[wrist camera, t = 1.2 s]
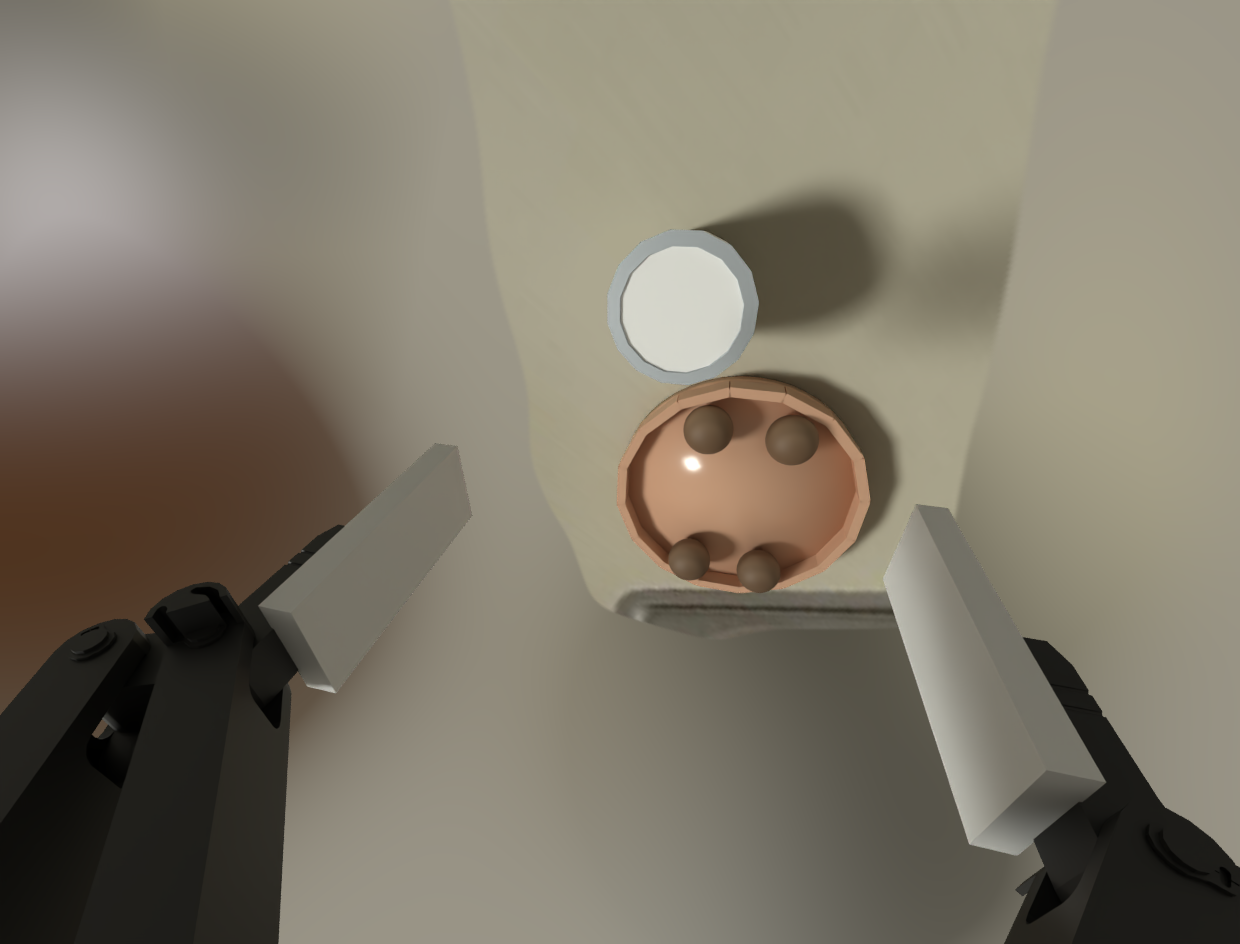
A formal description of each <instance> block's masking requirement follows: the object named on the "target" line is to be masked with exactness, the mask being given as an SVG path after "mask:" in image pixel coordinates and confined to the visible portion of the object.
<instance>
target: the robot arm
mask: <svg viewBox="0 0 1240 944" xmlns="http://www.w3.org/2000/svg"><path fill="white" fill-rule="evenodd" d="M471 516H472V512H471V508H470V503H469V498H468V494H467V489H466V484H465V479H464V474H463V470H462V465H461V461H460V455H459V451H458V446H452V445H444V444H436V443H435V444H434V445H433V446H432V447H431V448H430V449H429V450H427V451H426V452H425V453H424V454H423V455H422V456H421V457H420V458H419V459H418V460H417V461H416V462H415V463H413V464H412V465H411V466H410V467H409V468H408V469H407V470H406V471H405V472H404V473H402V474H401V475H400V476H399V477H398V478H397V479H396V480H395V481H394V482H393V483H391V484H390V485H389V486H388V487H387V488H386V489H385V490H384V491H383V492H382V493H381V494H379V495H378V496H377V497H376V498H375V499H374V500H373V501H372V502H371V503H370V504H369V505H367V506H366V507H365V508H364V509H363V510H362V511H361V512H360V513H359V514H358V515H357V516H356V517H354V518H353V519H352V520H351V521H350V522H349V523H348V524H347V525H346V526H342V525H337V526H335V527H333V528H331V529H330V530H328V531H326V532H324V533H322V534H321V535H318V536H317V537H316V538H315V539H314V540H312V541H311V542H310V543H309V544H308V545H307V546H306V547H305V548H303V549H302V552H301V553H298V554H297V555H295V556H294V557H293V558H292V559H291V560H290V561H289V562H288V565H284V566H283V567H282V568H281V569H280V570H278V571H277V572H276V573H275V574H274V575H273V576H272V577H270V578H269V579H268V580H267V581H266V582H265V583H264V584H263V585H261V586H260V587H259V588H258V589H257V590H256V591H255V592H254V593H252V594H251V595H250V596H249V597H248V598H247V599H246V600H244V601H243V602H242V603H241V604H240V605H239V606H238V605H237V604H236V602H235V601H234V599H233V598H232V596H231V595H230V593H229V591H228V590H227V588H226V587H224V586H223V585H221V584H220V583H213V582H205V583H199V584H193V585H191V586H188V587H185V588H183V589H180V590H177V591H176V592H174V593H172V594H170V595H169V596H167V597H165V598H164V599H162V600H161V601H160V602H159V603H157V604H156V605H155V606H154V607H153V608H151V610H150V611H149V612H148V614H147V616H146V617H145V618H144V620H145V621H146V623H147V624H148V625H149V626H150V627H151V629H152V630H153V631H154V632H155V633H153V634H144V633H143V632H142V630H141V629H140V628H139V627H138V626H137V625H136V623H135V622H132V621H130V620H128V619H114V620H110V621H107V622H103V623H99V624H97V625H94V626H92V627H90V628H87V629H85V630H83V631H81V632H79V633H78V634H76V635H75V636H73V637H72V638H70V639H68V640H67V641H66V642H64V643H63V644H62V645H61V646H60V647H59V648H58V649H57V650H56V651H55V652H54V653H53V654H52V655H51V656H50V657H49V659H48V660H47V661H46V662H45V663H44V664H43V666H42V667H41V668H40V669H39V670H38V672H37V673H36V674H35V675H34V676H33V677H32V679H31V680H30V681H29V682H28V683H27V684H26V686H25V687H24V688H23V689H22V690H21V691H20V693H19V694H18V695H17V696H16V697H15V698H14V700H13V701H12V702H11V703H10V704H9V705H8V707H7V708H6V709H5V710H4V711H3V712H2V714H1V715H0V944H278V939H279V921H280V902H281V901H280V900H281V881H282V862H283V844H284V843H283V842H284V825H285V806H286V787H287V786H286V785H287V767H288V747H289V729H290V710H291V690H290V686H289V684H288V682H289V680H290V679H291V678H292V677H293V676H294V675H295V674H296V673H297V671H298V672H299V674H300V675H301V677H302V678H303V680H304V682H305V683H306V685H307V686H309V687H312V688H317V689H321V690H325V691H329V692H334V693H337V691H338V690H339V689H340V687H341V686H342V685H343V683H344V682H345V681H346V680H347V678H348V677H349V676H350V674H351V673H352V672H353V670H354V669H355V668H356V666H357V665H358V664H359V663H360V661H361V660H362V659H363V657H364V656H365V655H366V653H367V652H368V651H369V650H370V648H371V647H372V646H373V644H374V643H375V642H376V640H377V639H378V638H379V636H380V635H381V634H382V632H383V631H384V630H385V629H386V627H387V626H388V625H389V623H390V622H391V621H392V620H393V618H394V617H395V615H396V614H397V613H398V612H399V610H400V609H401V608H402V606H403V605H404V604H405V602H406V601H407V600H408V599H409V597H410V596H411V595H412V593H413V592H414V591H415V589H416V588H417V587H418V586H419V584H420V583H421V582H422V580H423V579H424V578H425V576H426V575H427V573H428V572H429V571H430V570H431V568H432V567H433V566H434V565H435V563H436V562H437V561H438V559H439V558H440V557H441V556H442V554H443V553H444V552H445V550H446V549H447V548H448V546H449V545H450V544H451V542H452V541H453V540H454V539H455V537H456V536H457V535H458V533H459V532H460V531H461V529H462V528H463V527H464V526H465V524H466V523H467V522H468V520H469V519H470V518H471ZM883 580H884V584H885V587H886V590H887V593H888V596H889V599H890V602H891V605H892V608H893V611H894V614H895V617H896V620H897V623H898V626H899V630H900V633H901V635H902V638H903V641H904V645H905V648H906V651H907V654H908V657H909V660H910V663H911V666H912V669H913V673H914V676H915V678H916V682H917V685H918V688H919V691H920V694H921V697H922V700H923V703H924V706H925V709H926V712H927V715H928V719H929V721H930V725H931V728H932V731H933V734H934V737H935V740H936V743H937V746H938V749H939V752H940V755H941V758H942V762H943V765H944V768H945V771H946V774H947V777H948V780H949V783H950V786H951V789H952V792H953V795H954V798H955V801H956V804H957V808H958V811H959V813H960V817H961V820H962V823H963V826H964V829H965V832H966V835H967V838H968V841H969V844H971V845H975V846H979V847H983V848H987V849H991V850H995V851H1000V852H1004V853H1008V854H1013V855H1018V854H1020V853H1021V852H1022V851H1023V850H1025V849H1026V848H1027V847H1028V846H1030V845H1031V844H1032V843H1033V842H1035V845H1036V847H1037V850H1038V852H1039V854H1040V857H1041V859H1042V862H1043V864H1044V867H1043V868H1042V869H1040V870H1039V871H1038V872H1036V873H1035V874H1034V875H1032V876H1031V877H1030V878H1028V879H1027V880H1026V881H1024V882H1023V883H1022V884H1021V885H1020V886H1019V887H1018V888H1017V889H1016V891H1017V892H1018V893H1019V894H1021V895H1022V896H1024V895H1025V894H1026V893H1027V895H1026V897H1025V900H1024V902H1023V904H1022V906H1021V908H1020V910H1019V913H1018V915H1017V917H1016V919H1015V921H1014V923H1013V926H1012V928H1011V930H1010V932H1009V934H1008V936H1007V939H1006V941H1005V943H1004V944H1240V867H1238V866H1236V865H1235V863H1234V862H1233V860H1232V859H1231V858H1229V856H1228V855H1227V854H1226V853H1225V852H1224V851H1223V850H1222V848H1221V847H1220V846H1219V845H1218V844H1217V843H1216V842H1215V841H1214V840H1213V839H1212V838H1211V837H1209V836H1208V835H1207V834H1206V833H1204V832H1203V831H1202V830H1201V829H1199V828H1198V827H1197V826H1195V825H1194V824H1193V823H1192V822H1190V821H1189V820H1187V819H1185V818H1183V817H1182V816H1179V815H1178V814H1176V813H1174V812H1172V811H1171V810H1169V809H1167V808H1165V807H1164V806H1163V804H1162V803H1161V802H1160V800H1159V799H1158V797H1157V796H1156V794H1155V793H1154V791H1153V790H1152V788H1151V786H1150V785H1149V783H1148V782H1147V780H1146V779H1145V777H1144V776H1143V774H1142V773H1141V771H1140V770H1139V768H1138V766H1137V765H1136V763H1135V762H1134V760H1133V758H1132V757H1131V755H1130V754H1129V752H1128V751H1127V749H1126V748H1125V746H1124V745H1123V743H1122V742H1121V740H1120V738H1119V737H1118V735H1117V734H1116V732H1115V731H1114V729H1113V727H1112V726H1111V724H1110V723H1109V721H1108V720H1107V718H1106V717H1103V716H1102V710H1101V709H1100V708H1099V706H1098V704H1097V703H1096V701H1095V700H1094V698H1093V696H1091V695H1089V694H1088V689H1087V687H1086V686H1085V684H1084V682H1083V681H1082V679H1081V678H1080V676H1079V675H1078V673H1077V672H1076V670H1075V668H1074V667H1073V666H1072V664H1070V662H1068V661H1067V660H1066V659H1065V658H1064V657H1063V656H1062V655H1061V654H1060V653H1059V652H1058V651H1057V650H1055V648H1054V647H1052V646H1051V645H1050V644H1049V643H1048V642H1047V641H1041V640H1036V639H1030V638H1024V637H1022V636H1021V634H1020V632H1019V630H1018V629H1017V627H1016V625H1015V623H1014V622H1013V620H1012V618H1011V617H1010V615H1009V613H1008V611H1007V610H1006V608H1005V606H1004V604H1003V603H1002V601H1001V599H1000V597H999V596H998V594H997V592H996V591H995V589H994V587H993V585H992V584H991V582H990V580H989V578H988V577H987V575H986V573H985V572H984V570H983V568H982V566H981V565H980V563H979V561H978V559H977V558H976V556H975V554H974V552H973V551H972V549H971V547H970V546H969V544H968V542H967V540H966V539H965V537H964V535H963V533H962V532H961V530H960V528H959V527H958V525H957V523H956V521H955V520H954V518H953V516H952V514H951V513H950V511H949V509H948V508H942V507H934V506H926V505H918V504H916V505H915V507H914V510H913V512H912V514H911V517H910V519H909V521H908V523H907V526H906V528H905V530H904V532H903V535H902V537H901V539H900V541H899V544H898V546H897V548H896V550H895V553H894V555H893V557H892V559H891V562H890V564H889V566H888V568H887V571H886V573H885V575H884V577H883ZM102 719H103V720H104V721H105V722H106V723H107V724H108V726H107V727H106V729H105V730H104V732H103V733H102V734H101V735H100V736H99V737H98V738H95V737H94V736H93V735H92V733H93V732H94V730H95V729H96V727H97V726H98V724H99V723H100V721H101V720H102Z"/></svg>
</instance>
